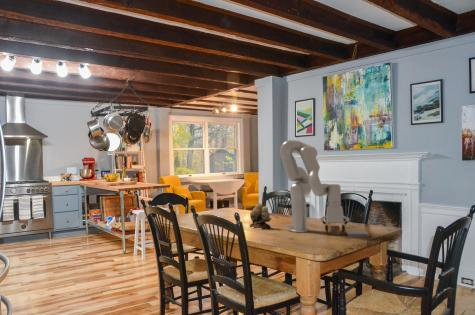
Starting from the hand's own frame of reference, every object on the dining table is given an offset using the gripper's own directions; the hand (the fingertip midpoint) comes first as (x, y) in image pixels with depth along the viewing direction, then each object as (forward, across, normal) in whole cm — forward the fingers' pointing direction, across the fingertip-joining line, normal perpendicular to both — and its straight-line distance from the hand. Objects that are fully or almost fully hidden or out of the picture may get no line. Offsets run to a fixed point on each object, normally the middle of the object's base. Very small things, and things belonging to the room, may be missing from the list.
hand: (335, 231), depth 232 cm
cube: (+2, 0, 0) cm, 2 cm away
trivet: (+2, +13, -1) cm, 13 cm away
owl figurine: (+2, -49, +20) cm, 53 cm away
